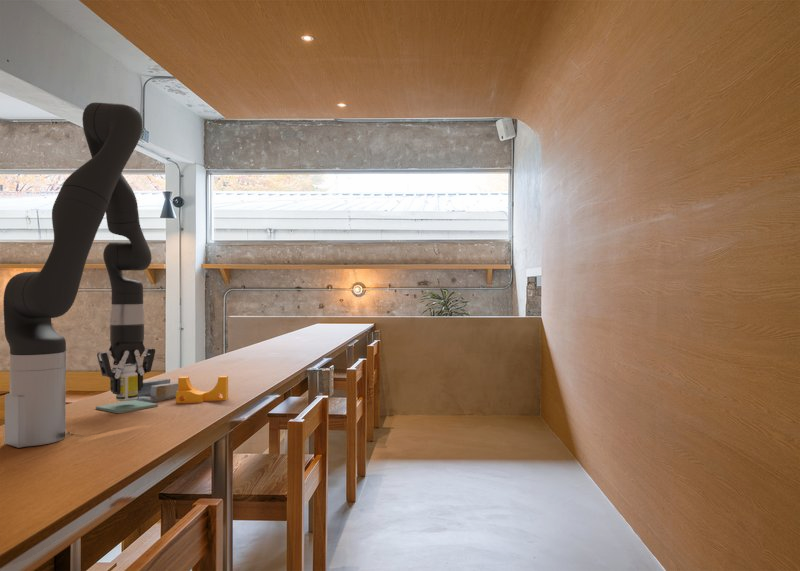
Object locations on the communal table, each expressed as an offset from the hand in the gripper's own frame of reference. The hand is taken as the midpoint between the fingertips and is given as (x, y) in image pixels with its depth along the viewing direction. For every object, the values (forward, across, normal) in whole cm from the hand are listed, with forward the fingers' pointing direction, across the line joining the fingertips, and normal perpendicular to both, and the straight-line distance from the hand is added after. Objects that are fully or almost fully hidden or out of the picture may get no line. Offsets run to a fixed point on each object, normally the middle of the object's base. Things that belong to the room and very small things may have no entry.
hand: (127, 391), depth 136 cm
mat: (+4, 0, 0) cm, 4 cm away
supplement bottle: (+2, 0, 0) cm, 2 cm away
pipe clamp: (+4, +15, -9) cm, 18 cm away
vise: (+4, +13, +6) cm, 15 cm away
